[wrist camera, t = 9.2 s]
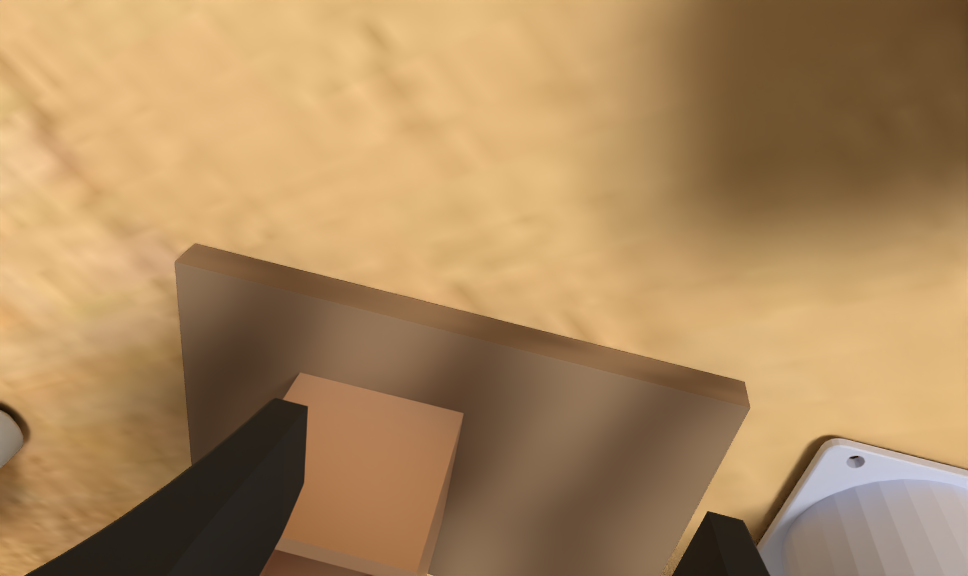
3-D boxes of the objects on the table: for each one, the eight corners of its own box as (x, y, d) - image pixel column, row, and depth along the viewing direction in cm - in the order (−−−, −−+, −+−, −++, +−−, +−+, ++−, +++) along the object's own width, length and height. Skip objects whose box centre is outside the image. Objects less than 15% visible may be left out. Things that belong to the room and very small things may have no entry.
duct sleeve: (463, 413, 23) (416, 572, 18) (441, 521, 26) (396, 683, 21) (299, 372, 23) (207, 517, 18) (297, 484, 26) (218, 635, 21)
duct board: (744, 382, 21) (770, 500, 18) (631, 601, 28) (632, 723, 24) (195, 243, 22) (102, 326, 18) (210, 487, 29) (145, 586, 25)
